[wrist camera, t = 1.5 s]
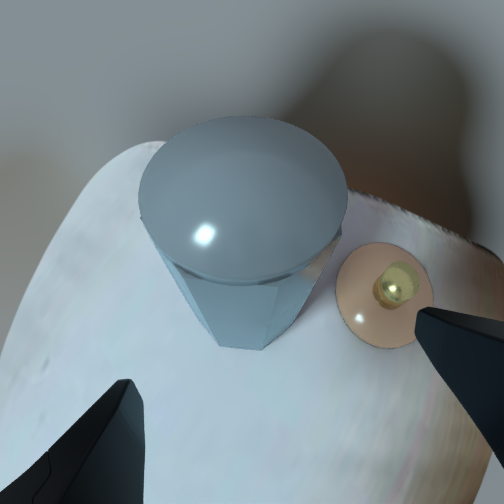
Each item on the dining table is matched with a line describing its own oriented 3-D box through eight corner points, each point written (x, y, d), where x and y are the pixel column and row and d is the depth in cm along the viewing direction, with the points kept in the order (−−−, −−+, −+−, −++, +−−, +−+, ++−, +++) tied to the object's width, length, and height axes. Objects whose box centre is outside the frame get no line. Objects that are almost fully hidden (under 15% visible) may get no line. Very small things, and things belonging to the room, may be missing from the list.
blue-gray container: (313, 307, 21) (385, 193, 9) (237, 370, 19) (220, 328, 7) (251, 241, 24) (255, 98, 12) (178, 294, 21) (109, 173, 10)
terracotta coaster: (445, 296, 21) (448, 294, 21) (389, 372, 19) (392, 371, 18) (378, 227, 24) (380, 224, 24) (312, 289, 22) (313, 287, 21)
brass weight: (411, 293, 21) (426, 281, 19) (391, 317, 20) (406, 307, 18) (386, 267, 22) (399, 253, 20) (365, 290, 21) (378, 277, 19)
